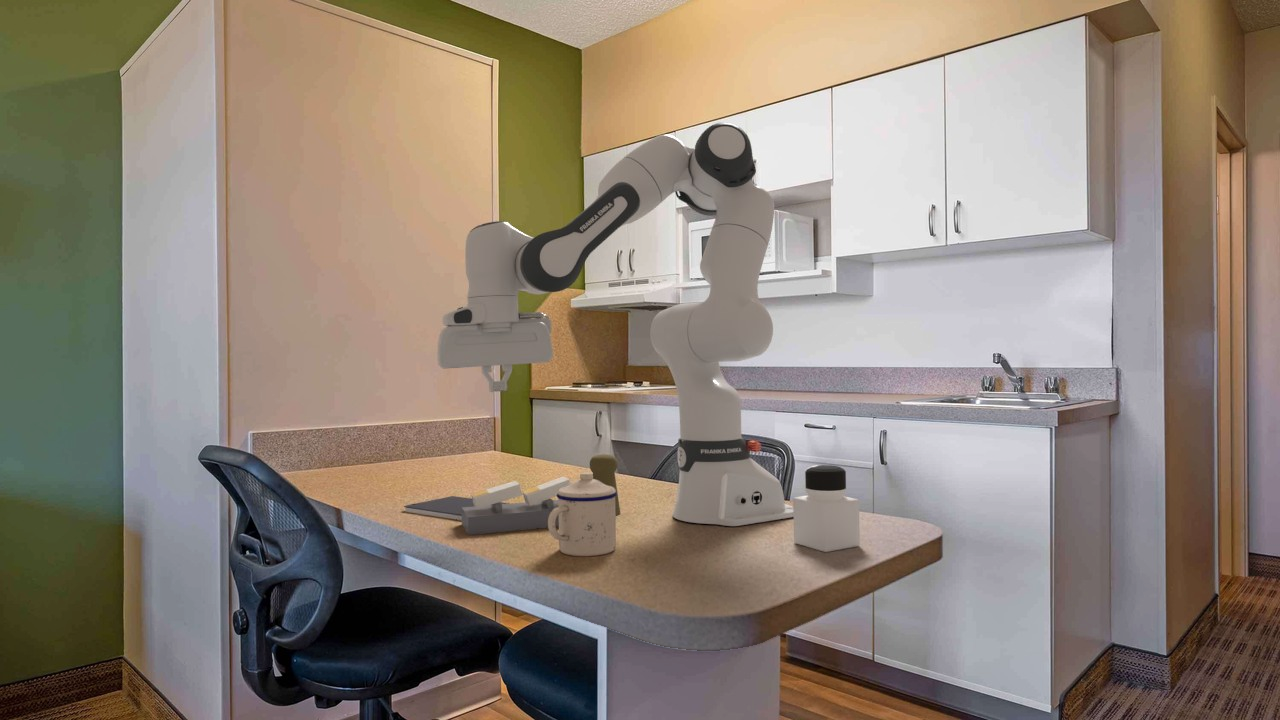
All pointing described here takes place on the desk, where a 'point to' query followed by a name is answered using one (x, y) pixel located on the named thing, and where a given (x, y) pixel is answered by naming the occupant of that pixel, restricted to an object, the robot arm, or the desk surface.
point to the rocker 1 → (496, 494)
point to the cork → (606, 473)
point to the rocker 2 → (544, 491)
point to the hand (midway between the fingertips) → (498, 391)
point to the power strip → (508, 517)
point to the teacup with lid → (585, 518)
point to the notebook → (442, 507)
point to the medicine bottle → (826, 511)
